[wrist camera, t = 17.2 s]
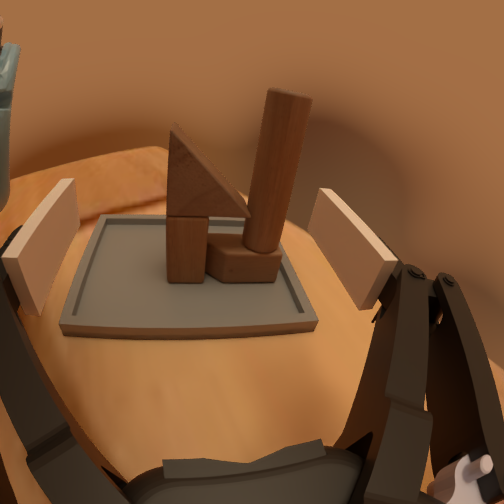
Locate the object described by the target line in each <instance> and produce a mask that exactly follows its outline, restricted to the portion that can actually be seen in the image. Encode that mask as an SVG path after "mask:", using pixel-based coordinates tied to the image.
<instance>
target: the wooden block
mask: <svg viewBox="0 0 504 504" xmlns="http://www.w3.org/2000/svg"><path fill="white" fill-rule="evenodd" d="M311 105H312V97H311V96H310V95H307V94H303V93H298V92H294V91H289V90H284V89H279V88H269V90H268V91H267V97H266V102H265V108H264V113H263V119H262V124H261V130H260V135H259V142H258V147H257V152H256V158H255V164H254V169H253V175H252V181H251V187H250V193H249V198H248V204H247V205H246V203H245V200H244V198H243V197H242V196H241V195H240V194H239V193H238V192H237V190H236V189H235V188H234V187H233V186H232V185H231V184H230V182H229V181H228V180H227V179H226V178H225V177H224V176H223V175H222V173H221V172H220V171H219V170H218V169H217V168H216V167H215V166H214V164H213V163H212V162H211V161H210V160H209V159H208V158H207V157H206V155H205V154H204V153H203V152H202V151H201V150H200V149H199V148H198V147H197V145H196V144H195V143H194V142H193V141H192V140H191V139H190V138H189V137H188V136H187V135H186V133H185V132H184V131H183V130H182V129H181V128H180V127H179V126H178V125H177V124H176V123H175V122H174V123H173V125H172V128H171V131H170V142H169V156H168V176H167V208H166V273H167V280H168V282H170V283H202V282H203V281H204V275H205V272H207V273H208V274H210V275H212V276H213V277H215V278H217V279H218V280H220V281H222V282H225V283H238V282H275V281H276V278H277V275H278V271H279V267H280V264H281V260H282V256H283V254H282V251H281V249H280V247H279V242H280V238H281V234H282V230H283V226H284V222H285V218H286V213H287V210H288V206H289V202H290V197H291V193H292V189H293V185H294V180H295V176H296V172H297V168H298V163H299V159H300V155H301V150H302V146H303V141H304V137H305V133H306V128H307V123H308V119H309V114H310V110H311ZM209 217H233V218H245V222H244V228H243V234H228V233H208V228H209Z"/></svg>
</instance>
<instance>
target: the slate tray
mask: <svg viewBox="0 0 504 504" xmlns="http://www.w3.org/2000/svg"><path fill="white" fill-rule="evenodd" d="M244 222H245V218H233V217H209V228H208V233H228V234H243V228H244ZM279 247H280V249H281V251H282V254H283V256H282V260H281V264H280V267H279V271H278V275H277V278H276V281H275V282H238V283H225V282H222V281H220V280H218V279H217V278H215V277H213V276H212V275H210V274H208V273H207V272H205V275H204V281H203V282H202V283H170V282H168V280H167V273H166V215H101V216H100V218H99V220H98V222H97V224H96V226H95V229H94V231H93V233H92V235H91V237H90V240H89V242H88V244H87V247H86V249H85V251H84V254H83V256H82V259H81V261H80V264H79V266H78V269H77V271H76V274H75V277H74V279H73V282H72V285H71V287H70V290H69V293H68V296H67V299H66V302H65V305H64V308H63V311H62V314H61V317H60V321H59V326H60V328H61V330H62V332H63V335H65V336H77V337H92V338H111V339H145V340H184V339H219V338H239V337H255V336H269V335H281V334H292V333H302V332H311V331H314V329H315V327H316V325H317V323H318V321H319V320H318V318H317V316H316V313H315V311H314V309H313V307H312V305H311V303H310V301H309V299H308V297H307V295H306V293H305V291H304V289H303V287H302V285H301V283H300V281H299V279H298V277H297V275H296V273H295V271H294V269H293V267H292V265H291V263H290V261H289V259H288V257H287V255H286V253H285V251H284V249H283V247H282V245H281V243H280V242H279Z"/></svg>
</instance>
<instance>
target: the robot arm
mask: <svg viewBox="0 0 504 504" xmlns="http://www.w3.org/2000/svg"><path fill="white" fill-rule="evenodd" d="M2 27H3V18H2V17H1V16H0V212H1V211H2V210H3V208H4V207H5V205H6V203H7V201H8V198H9V195H10V174H9V134H10V133H9V132H10V117H11V105H12V97H13V88H14V82H15V76H16V71H17V65H18V60H19V55H20V50H21V48H20V46H19V45H17V44H12V43H10V42H9V43H5V44H4V46H1V36H2ZM79 227H80V220H79V213H78V206H77V198H76V189H75V179H74V178H69V179H61V180H60V181H59V183H58V184H57V185H56V186H55V187H54V188H53V189H52V190H51V192H50V193H49V194H48V195H47V196H46V197H45V199H44V200H43V201H42V202H41V203H40V205H39V206H38V207H37V208H36V210H35V211H34V212H33V213H32V215H31V216H30V217H29V218H28V220H27V221H26V222H25V224H24V225H20V226H19V227H18V228H17V229H15V230H14V231H13V232H12V233H11V235H10V236H9V237H8V239H7V240H6V241H5V243H4V244H3V246H2V247H1V249H0V396H1V399H2V401H3V404H4V406H5V408H6V411H7V413H8V415H9V417H10V419H11V421H12V424H13V426H14V428H15V430H16V432H17V434H18V436H19V437H20V439H21V441H22V443H23V445H24V447H25V449H26V451H27V454H28V456H27V457H26V462H27V465H28V467H29V469H30V471H31V473H32V475H33V476H34V478H35V479H36V481H37V482H38V484H39V485H40V487H41V488H42V490H43V491H44V493H45V494H46V496H47V497H48V498H49V500H50V501H51V503H52V504H495V503H497V502H500V501H502V500H504V420H503V415H502V410H501V405H500V401H499V397H498V393H497V389H496V385H495V381H494V378H493V374H492V371H491V367H490V364H489V361H488V358H487V355H486V352H485V349H484V346H483V343H482V340H481V337H480V335H479V332H478V329H477V327H476V324H475V322H474V319H473V317H472V314H471V312H470V309H469V307H468V305H467V302H466V300H465V298H464V295H463V293H462V291H461V289H460V287H459V285H458V283H457V282H456V281H455V279H454V278H453V277H452V276H451V275H449V274H446V273H439V274H438V276H437V277H436V279H435V281H434V280H429V279H427V277H426V275H425V274H424V273H423V272H422V271H421V270H420V269H419V268H417V267H415V266H413V265H409V264H406V265H404V264H403V263H402V262H401V261H400V259H399V258H398V257H397V256H396V255H395V254H394V253H393V251H392V250H390V248H389V247H388V246H387V245H386V244H385V242H383V240H381V238H380V237H378V236H377V235H376V234H374V233H373V232H372V231H371V230H370V228H369V227H368V226H367V225H366V224H365V223H364V222H363V221H362V220H361V219H360V218H359V217H358V216H357V215H356V214H355V213H354V212H353V211H352V210H351V209H350V208H349V206H348V205H347V204H345V202H344V201H343V200H341V199H340V197H338V196H337V195H336V194H335V193H334V192H333V191H332V190H331V189H324V188H320V189H319V192H318V195H317V199H316V202H315V206H314V210H313V213H312V216H311V220H310V223H309V226H308V231H309V233H310V234H311V236H312V237H313V239H314V240H315V242H316V243H317V245H318V246H319V248H320V250H321V251H322V253H323V254H324V256H325V257H326V259H327V260H328V262H329V263H330V265H331V266H332V268H333V270H334V271H335V273H336V274H337V276H338V277H339V279H340V281H341V282H342V284H343V285H344V287H345V289H346V290H347V292H348V293H349V295H350V297H351V298H352V300H353V302H354V303H355V305H356V307H357V308H358V310H368V309H372V308H373V306H374V305H375V303H376V301H377V299H379V301H380V302H381V304H382V305H381V307H380V308H379V310H378V312H377V313H376V315H375V317H374V318H373V320H372V322H371V323H374V321H375V320H376V323H375V327H374V332H373V336H372V340H371V344H370V348H369V352H368V356H367V359H366V363H365V366H364V370H363V373H362V377H361V380H360V384H359V387H358V390H357V393H356V396H355V399H354V402H353V405H352V408H351V411H350V414H349V417H348V420H347V422H346V425H345V428H344V430H343V433H342V434H341V436H340V437H339V439H338V440H337V442H336V443H335V445H334V446H333V447H329V446H323V443H322V440H321V439H318V440H314V441H310V442H306V443H302V444H298V445H293V446H288V447H285V448H283V449H281V450H279V451H276V452H274V453H272V454H270V455H268V456H265V457H263V458H261V459H258V460H256V461H253V462H251V463H237V462H227V461H219V460H212V459H205V458H199V459H169V460H162V462H163V466H162V467H158V468H154V469H151V470H149V471H146V472H144V473H142V474H140V475H138V476H137V477H136V478H134V479H133V480H131V481H130V482H129V483H128V482H127V481H126V480H125V479H124V478H123V476H122V475H121V474H120V473H119V472H118V471H117V470H116V469H115V468H114V467H113V466H112V465H111V464H110V463H109V462H108V461H107V460H106V459H105V458H104V457H103V455H102V454H101V453H100V452H99V451H98V449H97V448H96V447H95V446H94V444H93V443H92V442H91V441H90V439H89V438H88V437H87V435H86V434H85V433H84V431H83V430H82V429H81V427H80V426H79V424H78V423H77V422H76V420H75V419H74V417H73V416H72V414H71V413H70V411H69V410H68V408H67V407H66V405H65V404H64V402H63V400H62V399H61V397H60V396H59V394H58V392H57V391H56V389H55V387H54V386H53V384H52V382H51V381H50V379H49V377H48V375H47V373H46V372H45V370H44V368H43V366H42V364H41V362H40V360H39V358H38V356H37V354H36V352H35V350H34V348H33V346H32V344H31V342H30V340H29V338H28V335H27V333H26V331H25V329H24V326H23V324H22V322H21V319H20V317H19V315H18V313H17V310H18V308H19V305H21V307H22V309H23V311H24V313H25V315H33V316H40V315H41V313H42V310H43V307H44V304H45V302H46V299H47V297H48V294H49V292H50V289H51V287H52V284H53V282H54V279H55V277H56V275H57V272H58V270H59V268H60V266H61V263H62V261H63V259H64V257H65V255H66V253H67V250H68V248H69V246H70V244H71V242H72V240H73V238H74V236H75V234H76V232H77V230H78V228H79ZM442 314H443V318H442V321H441V322H440V324H439V321H438V319H439V318H440V316H441V315H442ZM425 392H426V401H427V410H428V411H425V410H424V401H425ZM429 446H430V455H431V464H432V470H433V475H434V479H435V481H433V482H431V483H430V484H429V485H428V487H427V494H426V493H424V492H422V491H420V488H421V484H422V480H423V476H424V471H425V467H426V462H427V457H428V451H429ZM0 504H18V503H17V500H16V497H15V495H14V492H13V489H12V487H11V484H10V481H9V479H8V476H7V473H6V470H5V467H4V464H3V461H2V457H1V454H0Z"/></svg>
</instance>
